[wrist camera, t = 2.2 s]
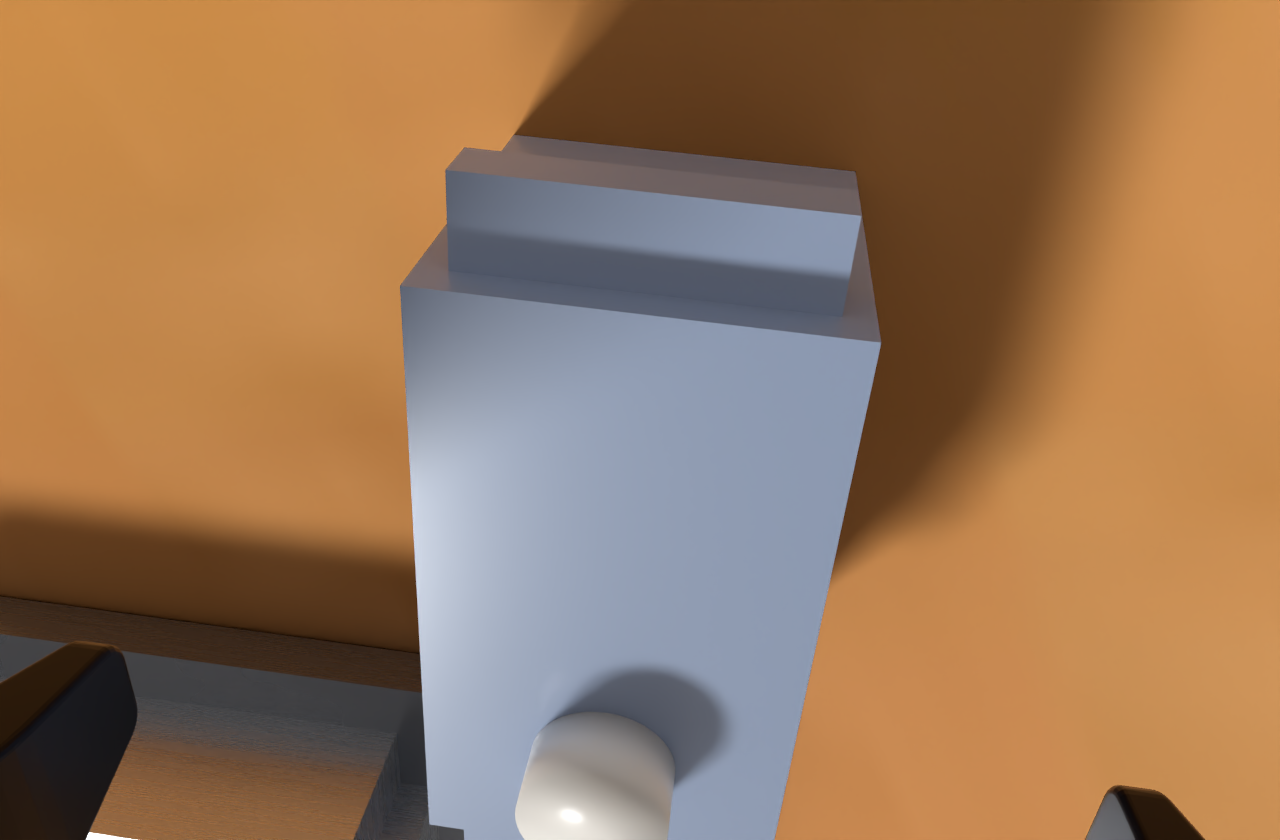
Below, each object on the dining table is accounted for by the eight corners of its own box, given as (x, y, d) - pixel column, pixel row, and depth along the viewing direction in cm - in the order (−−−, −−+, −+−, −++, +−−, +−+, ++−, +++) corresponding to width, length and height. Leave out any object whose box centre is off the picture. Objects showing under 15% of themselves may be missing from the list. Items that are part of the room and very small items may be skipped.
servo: (869, 89, 12) (913, 281, 7) (764, 662, 17) (753, 987, 12) (517, 54, 12) (359, 219, 8) (512, 625, 17) (411, 931, 12)
